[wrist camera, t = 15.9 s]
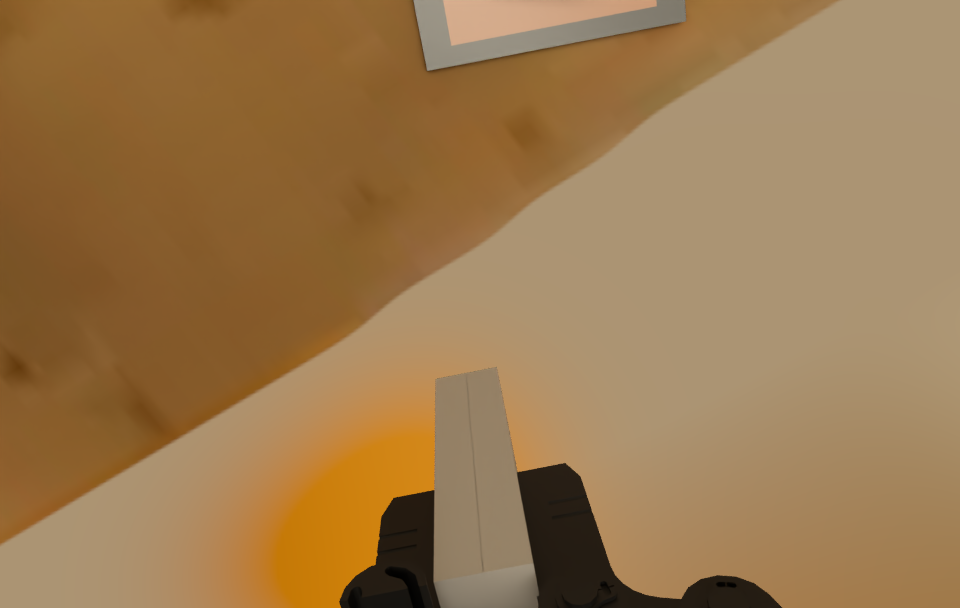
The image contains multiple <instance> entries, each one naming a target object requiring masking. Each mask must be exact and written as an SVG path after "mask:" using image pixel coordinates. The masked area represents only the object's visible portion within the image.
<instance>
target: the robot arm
mask: <svg viewBox="0 0 960 608" xmlns="http://www.w3.org/2000/svg"><path fill="white" fill-rule="evenodd" d="M435 396H436V397H435V490H432V491H427V492H422V493H417V494H412V495H407V496H402V497H396V498H393V500H392V501H391V503H390V505H389V506H388V508H387V509H386V511H385V512H384V514H383V515H382V518H381V526H380V534H379V537H380V540H379V542H378V550H377V553H378V556H377V558H376V565H374V566H371V567H369V568H367V569H366V570H364V571H363V572H361V573H360V574H358V575H357V576H355V577H354V579H353V580H352V581H351V582H350V583H349V584H348V585H347V586H346V588H345V589H344V592H343V594H342V597H341V599H340V601H339V602H340V605H341V608H782V607H781V606H780V605H779V604H778V603H777V602H776V601H775V600H774V599H773V598H772V597H771V596H770V595H769V594H768V593H767V592H765V591H764V590H762V589H761V588H760V587H758V586H757V585H756V584H754V583H752V582H749V581H746V580H744V579H741V578H738V577H732V576H718V575H717V576H713V577H709V578H704V579H700V580H699V581H697V582H696V583H695V584H693V585H691V586H690V587H688V589H687V590H686V592H685V594H684V596H683V597H682V599H670V598H660V597H654V596H648V595H644V594H642V593H639V592H636V591H634V590H632V589H631V588H629V587H628V586H626V585H624V584H623V583H622V582H621V581H620V580H619V579H618V578H617V577H616V576H615V574H614V572H613V570H612V568H611V566H610V563H609V560H608V557H607V554H606V551H605V548H604V545H603V543H602V539H601V536H600V533H599V531H598V527H597V524H596V521H595V519H594V516H593V513H592V511H591V507H590V504H589V501H588V498H587V495H586V492H585V489H584V486H583V483H582V480H581V477H580V476H579V475H578V474H577V473H576V472H575V471H574V470H572V469H571V468H570V467H569V466H568V465H566V463H563V464H558V465H553V466H548V467H543V468H537V469H533V470H528V471H522V472H517V467H516V462H515V457H514V452H513V447H512V442H511V437H510V432H509V427H508V422H507V417H506V412H505V407H504V402H503V397H502V391H501V387H500V382H499V376H498V372H497V367H495V368H489V369H484V370H480V371H474V372H469V373H464V374H458V375H454V376H448V377H443V378H438V379H436V393H435Z"/></svg>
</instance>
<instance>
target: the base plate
mask: <svg viewBox="0 0 960 608" xmlns="http://www.w3.org/2000/svg"><path fill="white" fill-rule="evenodd" d="M413 1H414V6H415V11H416V16H417V21H418V26H419V31H420V36H421V41H422V46H423V52H424V57H425V62H426V67H427V71H430V70H435V69H440V68H445V67H450V66H456V65H461V64H466V63H471V62H476V61H482V60H487V59H492V58H497V57H502V56H508V55H513V54H518V53H523V52H528V51H534V50H539V49H544V48H549V47H554V46H560V45H565V44H570V43H575V42H580V41H586V40H591V39H596V38H601V37H606V36H612V35H617V34H622V33H627V32H632V31H638V30H643V29H648V28H653V27H658V26H664V25H669V24H674V23H679V22H684V21H686V10H685V0H413Z"/></svg>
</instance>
